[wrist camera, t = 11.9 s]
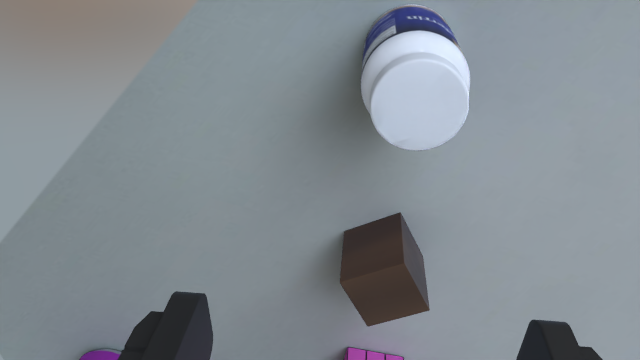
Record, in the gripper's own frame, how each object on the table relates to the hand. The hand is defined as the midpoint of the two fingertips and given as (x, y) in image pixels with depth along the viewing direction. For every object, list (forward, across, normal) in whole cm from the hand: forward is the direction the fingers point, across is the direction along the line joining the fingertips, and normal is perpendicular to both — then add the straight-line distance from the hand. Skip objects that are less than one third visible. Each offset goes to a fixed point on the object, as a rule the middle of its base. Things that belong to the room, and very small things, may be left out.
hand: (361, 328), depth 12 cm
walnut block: (+23, -2, +16) cm, 28 cm away
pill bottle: (+23, -2, 0) cm, 23 cm away
